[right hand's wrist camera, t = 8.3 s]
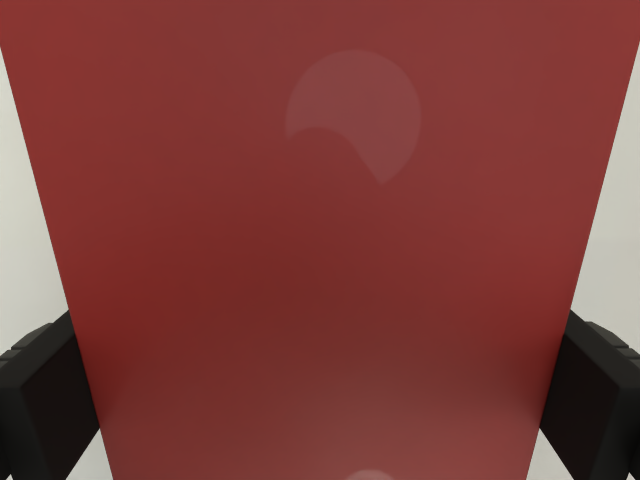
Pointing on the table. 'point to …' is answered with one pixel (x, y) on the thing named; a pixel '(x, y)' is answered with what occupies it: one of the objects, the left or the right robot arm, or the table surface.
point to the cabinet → (319, 221)
